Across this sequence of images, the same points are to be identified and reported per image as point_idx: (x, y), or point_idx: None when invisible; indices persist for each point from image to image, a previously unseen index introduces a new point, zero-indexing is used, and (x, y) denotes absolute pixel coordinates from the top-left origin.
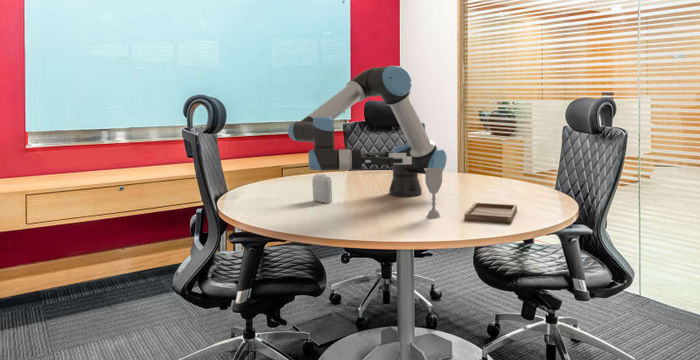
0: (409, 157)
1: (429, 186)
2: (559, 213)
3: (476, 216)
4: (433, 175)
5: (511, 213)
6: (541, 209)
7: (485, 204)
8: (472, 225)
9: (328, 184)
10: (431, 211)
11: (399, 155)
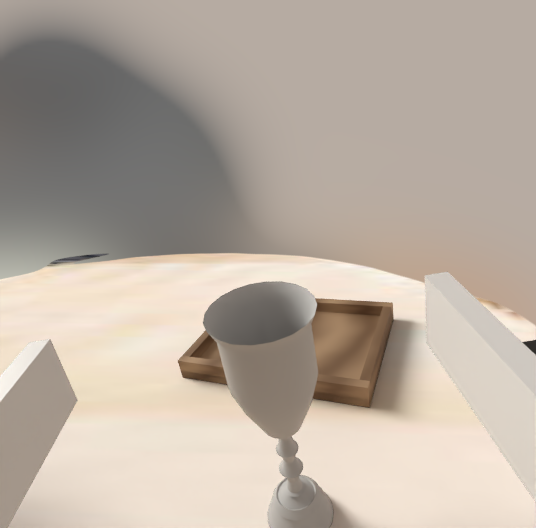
0: (457, 289)
1: (305, 409)
2: (275, 264)
3: (376, 365)
4: (312, 337)
5: (344, 301)
6: (232, 280)
7: (204, 342)
8: (442, 389)
9: None
10: (312, 503)
11: (22, 410)
